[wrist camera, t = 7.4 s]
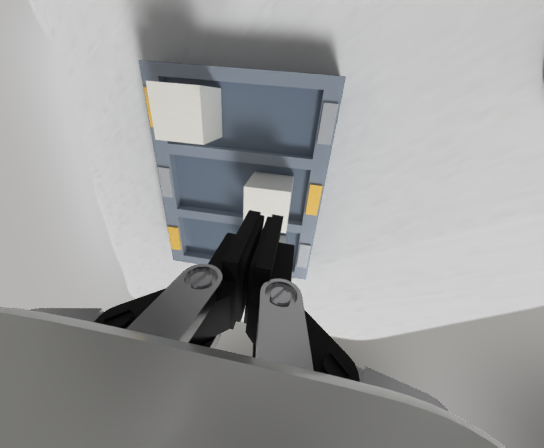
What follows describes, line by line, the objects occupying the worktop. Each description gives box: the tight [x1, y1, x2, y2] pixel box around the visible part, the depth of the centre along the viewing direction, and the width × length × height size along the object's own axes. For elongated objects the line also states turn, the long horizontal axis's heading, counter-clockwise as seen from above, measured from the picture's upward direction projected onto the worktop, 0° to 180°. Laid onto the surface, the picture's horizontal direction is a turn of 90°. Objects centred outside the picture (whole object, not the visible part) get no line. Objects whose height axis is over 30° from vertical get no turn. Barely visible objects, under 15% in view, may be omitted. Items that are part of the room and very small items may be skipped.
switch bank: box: [139, 60, 346, 279], centre depth 24 cm, size 17×21×3 cm
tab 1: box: [146, 81, 222, 145], centre depth 19 cm, size 4×4×4 cm
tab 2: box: [243, 172, 294, 233], centre depth 22 cm, size 4×4×4 cm
